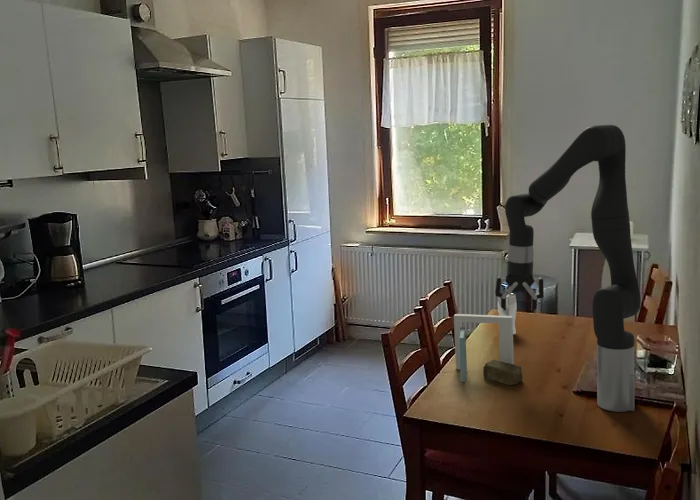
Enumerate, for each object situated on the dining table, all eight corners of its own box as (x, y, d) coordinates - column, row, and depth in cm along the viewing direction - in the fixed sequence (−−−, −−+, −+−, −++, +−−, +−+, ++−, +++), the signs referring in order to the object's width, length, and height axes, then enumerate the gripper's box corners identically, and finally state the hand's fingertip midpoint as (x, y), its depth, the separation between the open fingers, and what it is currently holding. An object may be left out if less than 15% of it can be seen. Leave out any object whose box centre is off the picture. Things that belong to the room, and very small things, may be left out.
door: (465, 381, 197) (463, 337, 195) (460, 381, 198) (459, 337, 196) (466, 368, 209) (465, 327, 206) (462, 368, 209) (460, 327, 207)
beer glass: (519, 335, 241) (518, 296, 238) (500, 336, 241) (499, 297, 238) (514, 329, 248) (513, 292, 245) (496, 331, 248) (495, 293, 245)
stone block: (493, 373, 204) (493, 358, 203) (524, 382, 196) (524, 366, 195) (482, 378, 201) (481, 363, 200) (513, 387, 192) (512, 371, 191)
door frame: (513, 370, 205) (512, 316, 202) (512, 372, 203) (511, 317, 200) (457, 366, 212) (455, 313, 209) (455, 368, 210) (453, 315, 207)
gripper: (497, 261, 193) (495, 313, 196) (546, 262, 190) (543, 314, 194) (495, 255, 200) (494, 305, 203) (543, 256, 197) (540, 307, 201)
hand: (518, 310), depth 199 cm, fingers open, 8 cm apart
